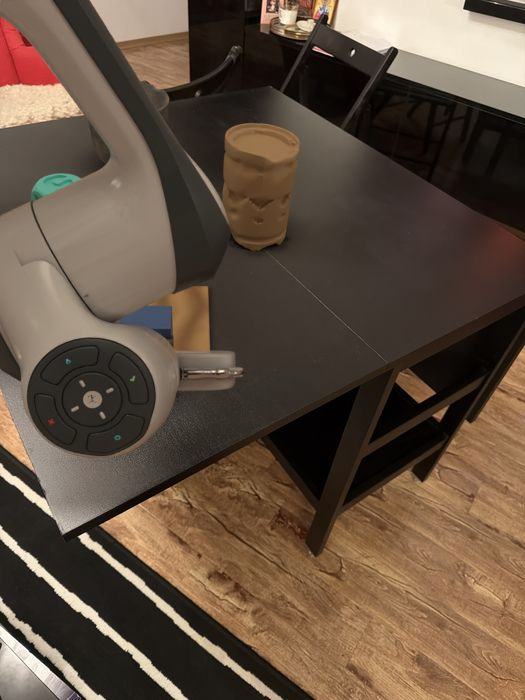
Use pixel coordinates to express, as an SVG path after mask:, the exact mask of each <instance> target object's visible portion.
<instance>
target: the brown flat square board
mask: <svg viewBox="0 0 525 700" xmlns="http://www.w3.org/2000/svg"><path fill="white" fill-rule="evenodd" d="M147 306H172V320H173V339H174V350H181V351H211V341H210V340H211V338H210V337H211V336H210V304H209V286H208V285H195V286H193V287H190V288H188V289H185V290H183V291H180V292H178V293H176V294H172V293H171V294H169V295H167V296H165V297H163V298H161V299H159V300H157V301H155V302H153V303H151V304H149V305H147ZM117 322H118V323H119V320H118V321H117Z"/></svg>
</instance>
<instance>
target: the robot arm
mask: <svg viewBox="0 0 525 700" xmlns="http://www.w3.org/2000/svg"><path fill="white" fill-rule="evenodd" d="M0 18H1V19H3V20H4V21H6V22H8V23H9V24H10V25H11V26H12V27H13V28H14V29H16V31H18V32H19V33H20V34H21V35H22V36H23V37H24V38H25V39H26V40H27V41H28V43H29V44H30V45H31V46H32V48H34V50H35V51H36V52H37V53H38V55H39V56H40V58H41V59H42V60H43V62H44V63H45V65H46V66H47V67H48V68H49V70H50V71H51V73H52V74H53V75H54V76H55V78H56V79H57V80H58V82H59V84H60V85H61V86H62V87H63V89H64V90H65V91H66V93H67V94H68V96H69V97H70V98H71V99H72V101H73V102H74V103H75V105H76V106H77V108H78V109H79V110H80V112H81V113H82V115H84V117H85V118H86V119H88V120H87V122H88V121H89V122H90V123H91V125H92V126H93V128H94V129H95V130H96V132H97V133H98V134H99V136H100V137H101V138H102V140H103V141H104V142H105V144H106V145H107V146H108V148H109V150H110V159H109V161H108V162H107V164H106V165H105V164H104V166H102V167H101V168H99V169H98V170H96V171H94V172H92V173H90V174H88V175H86V176H84V177H82V178H81V179H80V180H77V181H75V182H73V183H71V184H69V185H67V186H65V187H63V188H61V189H59V190H56V191H54V192H52V193H50V194H48V195H46V196H44V197H42V198H40V199H37V200H35V201H31V200H30V201H28V202H26V203H24V204H21V205H19V206H17V207H15V208H13V209H11V210H8V211H6V212H5V213H2V214H1V215H0V370H1V371H2V372H3V373H5V374H7V375H8V376H10V377H12V378H13V379H15V380H17V381H19V382H20V392H21V400H22V404H23V408H24V411H25V413H26V415H27V417H28V419H29V421H30V423H31V424H32V427H34V429H35V431H36V432H37V433H38V434H39V436H40V437H42V438H43V439H44V440H45V441H46V442H47V443H49V444H50V445H51V446H53V447H54V448H57V449H58V450H61V451H62V452H64V453H67V454H69V455H71V456H76V457H80V458H84V459H85V458H86V459H108V458H113V457H114V458H115V457H117V456H122V455H124V454H127V453H130V452H132V451H134V450H136V449H137V448H139V447H140V446H142V445H144V444H145V443H146V442H148V440H149V439H151V438H152V437H153V436H154V435H155V434H156V433H157V431H159V430H160V429H161V427H162V425H164V423H165V422H166V421H167V418H168V417H169V415H170V413H171V411H172V410H173V407H174V404H175V401H176V397H177V393H178V392H200V391H201V392H202V391H203V392H204V391H205V392H207V391H208V392H209V391H210V392H211V391H224V390H229V389H232V388H233V387H234V386H235V384H236V378H242V377H243V376H244V374H245V371H244V368H243V367H241V366H236V353H235V352H234V351H232V350H210V351H181V350H174V348H173V347H172V345H171V344H170V343H169V342H168V341H167V340H166V339H165V338H164V337H163V336H162V335H161V334H159V333H157V332H156V331H154V330H152V329H149V328H146V327H143V326H138V325H129V324H122V323H118V322H117V321H118V320H120V319H122V318H124V317H126V316H128V315H130V314H132V313H134V312H136V311H138V310H140V309H142V308H143V307H145V306H147V305H149V304H151V303H153V302H155V301H157V300H159V299H161V298H163V297H165V296H167V295H169V294H171V293H172V294H176V293H178V292H180V291H183V290H185V289H188V288H190V287H193V286H198V285H200V284H202V283H205V282H208V281H210V280H213V279H214V277H215V275H216V273H217V272H218V270H219V268H220V266H221V264H222V262H223V260H224V257H225V254H226V252H227V249H228V246H229V243H230V240H231V235H232V234H231V230H230V228H229V223H228V218H227V214H226V211H225V208H224V206H223V203H222V199H221V197H220V195H219V193H218V192H217V190H216V188H215V187H214V185H213V183H212V182H211V180H210V179H209V178H208V176H207V175H206V173H205V172H204V171H203V169H202V168H201V167H200V165H198V164H197V162H196V161H195V160H194V159H193V158H192V156H190V155H189V154H188V153H187V151H186V150H185V149H184V148H183V146H182V145H181V143H180V142H179V140H178V139H177V138H176V136H175V134H174V132H173V131H172V130H171V128H170V126H169V124H168V125H167V123H166V122H165V120H164V119H163V117H162V115H161V114H160V112H159V111H158V109H157V107H156V106H155V104H154V103H153V101H152V99H151V98H150V96H149V95H148V93H147V91H146V89H145V88H144V86H143V85H142V83H141V82H142V81H141V80H140V78H139V77H138V75H137V73H136V72H135V70H134V69H133V67H132V65H131V64H130V62H129V60H128V59H127V57H126V55H125V54H124V53H123V50H121V49H122V48H120V46H119V44H118V43H117V42H116V40H115V38H114V37H113V34H112V33H111V32H110V30H109V29H108V27H107V25H106V24H105V22H104V20H103V18H102V17H101V16H100V14H99V12H98V11H97V10H96V7H95V6H94V5H93V2H92V1H91V0H0ZM140 81H141V82H140Z"/></svg>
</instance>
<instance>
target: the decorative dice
mask: <svg viewBox="0 0 525 700" xmlns="http://www.w3.org/2000/svg"><path fill="white" fill-rule="evenodd" d="M80 179H82V178H81V177H79V176H77V175H75V174H72V173H62V172H61V173H52V174H48V175H45V176H42V177H41V178H40V179H38V180H37V181H36V183H35V184H34V186H33V188H32V189H31V192H30V201H35V200H37V199H40V198H42V197H44V196H46V195H48V194H50V193H52V192H54V191H56V190H59V189H61V188H63V187H65V186H67V185H69V184H71V183H73V182H75V181H77V180H80Z"/></svg>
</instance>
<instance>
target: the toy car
mask: <svg viewBox="0 0 525 700" xmlns="http://www.w3.org/2000/svg"><path fill="white" fill-rule="evenodd" d="M119 323H122V324H129V325H138V326H143V327H146V328H149V329H152V330H154V331H156V332H157V333H159V334H161V335H162V336H163V337H164V338H165V339H166V340H167V341H168V342H169V343H170V344H171V345H172V347H173V348H174V339H173V320H172V306H145V307H143V308H142V309H140V310H138V311H136V312H134V313H132V314H130V315H128V316H126V317H124V318H122V319H120V320H119Z"/></svg>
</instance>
